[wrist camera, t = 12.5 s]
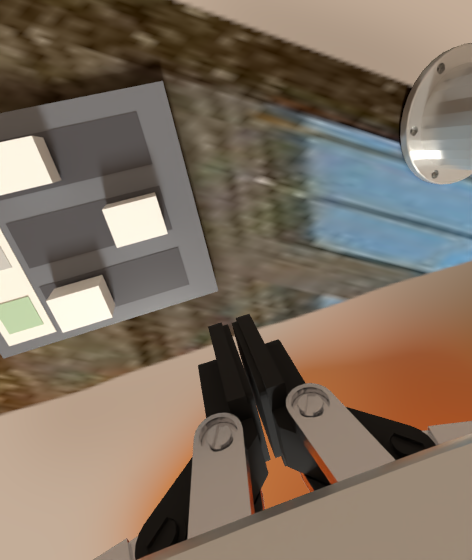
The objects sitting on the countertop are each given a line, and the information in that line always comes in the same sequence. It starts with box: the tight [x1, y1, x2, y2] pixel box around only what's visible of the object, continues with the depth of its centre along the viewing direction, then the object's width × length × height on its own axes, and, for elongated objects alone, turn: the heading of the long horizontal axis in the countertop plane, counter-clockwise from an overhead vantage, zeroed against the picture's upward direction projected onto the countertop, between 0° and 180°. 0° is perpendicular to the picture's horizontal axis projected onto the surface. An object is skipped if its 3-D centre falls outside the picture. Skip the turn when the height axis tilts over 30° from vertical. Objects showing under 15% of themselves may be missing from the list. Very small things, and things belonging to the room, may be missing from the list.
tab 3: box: [102, 192, 168, 248], centre depth 25 cm, size 4×3×2 cm
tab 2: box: [46, 275, 115, 333], centre depth 26 cm, size 4×3×2 cm
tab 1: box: [0, 136, 61, 195], centre depth 22 cm, size 4×3×2 cm
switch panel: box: [0, 81, 218, 358], centre depth 26 cm, size 20×18×2 cm
